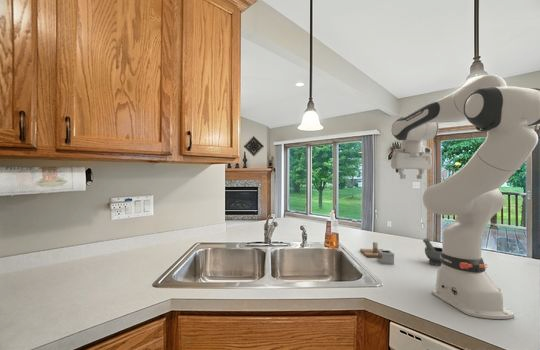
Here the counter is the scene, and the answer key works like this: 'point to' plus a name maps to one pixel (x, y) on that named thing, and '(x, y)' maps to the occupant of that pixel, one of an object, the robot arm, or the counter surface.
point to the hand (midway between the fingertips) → (411, 178)
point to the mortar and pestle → (432, 253)
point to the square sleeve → (385, 257)
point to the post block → (371, 251)
